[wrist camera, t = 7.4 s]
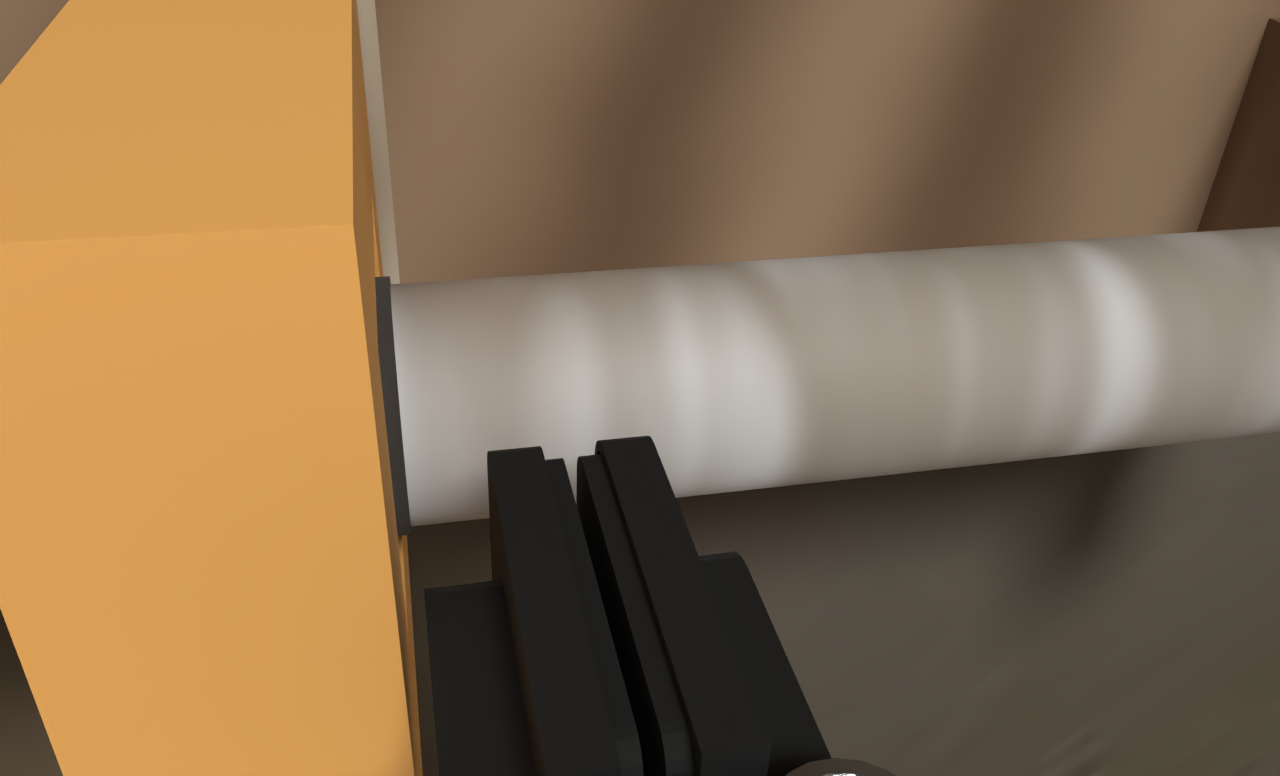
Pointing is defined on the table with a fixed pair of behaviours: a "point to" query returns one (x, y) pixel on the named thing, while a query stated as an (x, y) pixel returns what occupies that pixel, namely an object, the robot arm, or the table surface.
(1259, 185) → the pipe stand
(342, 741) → the collar
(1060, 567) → the table surface
